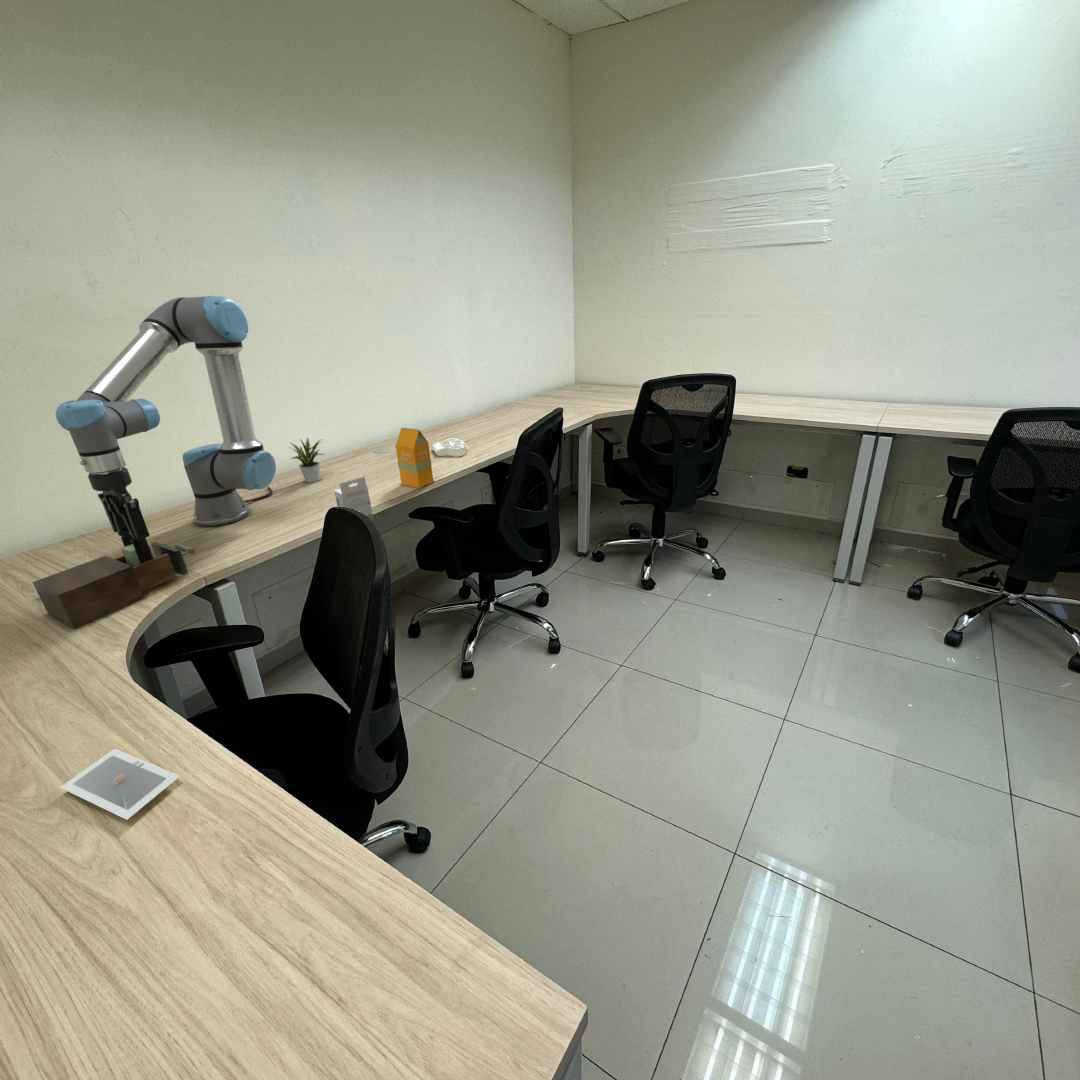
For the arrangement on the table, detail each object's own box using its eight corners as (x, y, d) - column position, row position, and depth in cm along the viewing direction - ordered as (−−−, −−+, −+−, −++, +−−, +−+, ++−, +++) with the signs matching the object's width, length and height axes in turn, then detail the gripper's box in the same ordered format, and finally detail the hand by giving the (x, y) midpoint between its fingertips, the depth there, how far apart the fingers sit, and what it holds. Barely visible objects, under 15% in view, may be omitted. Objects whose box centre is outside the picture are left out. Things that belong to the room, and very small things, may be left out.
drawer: (180, 557, 149) (172, 535, 146) (204, 566, 144) (196, 543, 141) (107, 587, 135) (97, 563, 132) (131, 598, 130) (121, 573, 127)
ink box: (366, 517, 172) (358, 472, 166) (374, 521, 169) (366, 476, 163) (340, 526, 167) (330, 480, 161) (348, 530, 164) (338, 483, 157)
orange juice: (419, 488, 196) (411, 432, 187) (401, 484, 200) (392, 430, 192) (433, 481, 202) (426, 427, 193) (416, 478, 206) (408, 424, 197)
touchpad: (129, 825, 75) (124, 814, 74) (62, 792, 81) (56, 782, 80) (182, 781, 82) (178, 770, 81) (117, 753, 87) (112, 743, 86)
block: (146, 556, 138) (140, 541, 137) (155, 560, 136) (149, 544, 135) (127, 564, 135) (121, 547, 133) (136, 567, 133) (130, 551, 131)
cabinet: (117, 586, 138) (105, 555, 134) (144, 597, 132) (131, 566, 128) (48, 614, 127) (32, 582, 123) (74, 629, 121) (58, 595, 117)
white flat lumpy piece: (431, 448, 243) (464, 444, 247) (437, 459, 227) (472, 454, 231) (430, 440, 241) (463, 436, 245) (436, 451, 226) (471, 446, 230)
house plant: (339, 481, 206) (330, 438, 199) (300, 489, 199) (290, 445, 192) (328, 472, 217) (320, 431, 210) (291, 480, 210) (281, 437, 203)
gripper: (70, 470, 127) (107, 560, 137) (107, 480, 119) (144, 575, 129) (106, 461, 133) (139, 548, 143) (144, 470, 125) (177, 561, 135)
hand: (142, 560), depth 136 cm, fingers closed on block, 4 cm apart
